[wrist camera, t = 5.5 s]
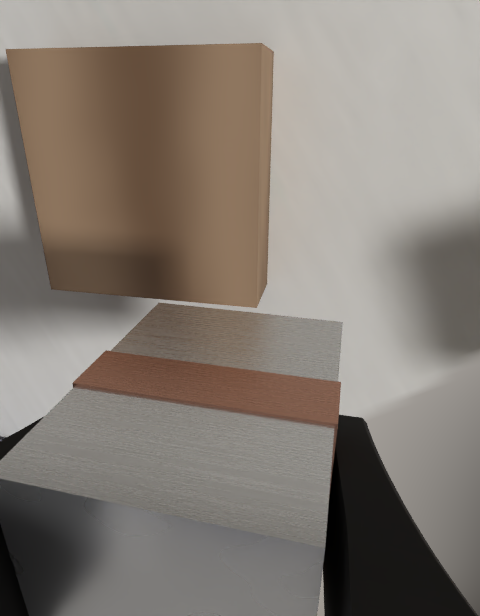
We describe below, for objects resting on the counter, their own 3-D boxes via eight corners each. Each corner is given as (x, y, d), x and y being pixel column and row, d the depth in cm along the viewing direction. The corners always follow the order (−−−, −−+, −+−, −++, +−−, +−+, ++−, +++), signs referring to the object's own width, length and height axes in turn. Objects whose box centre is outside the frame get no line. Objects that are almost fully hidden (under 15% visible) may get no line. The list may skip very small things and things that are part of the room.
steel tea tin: (168, 444, 13) (43, 668, 8) (157, 300, 11) (-19, 472, 6) (327, 472, 12) (303, 750, 7) (345, 320, 10) (329, 546, 5)
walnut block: (86, 266, 22) (51, 289, 19) (55, 57, 18) (5, 49, 16) (268, 280, 20) (256, 307, 18) (275, 52, 16) (261, 43, 14)
